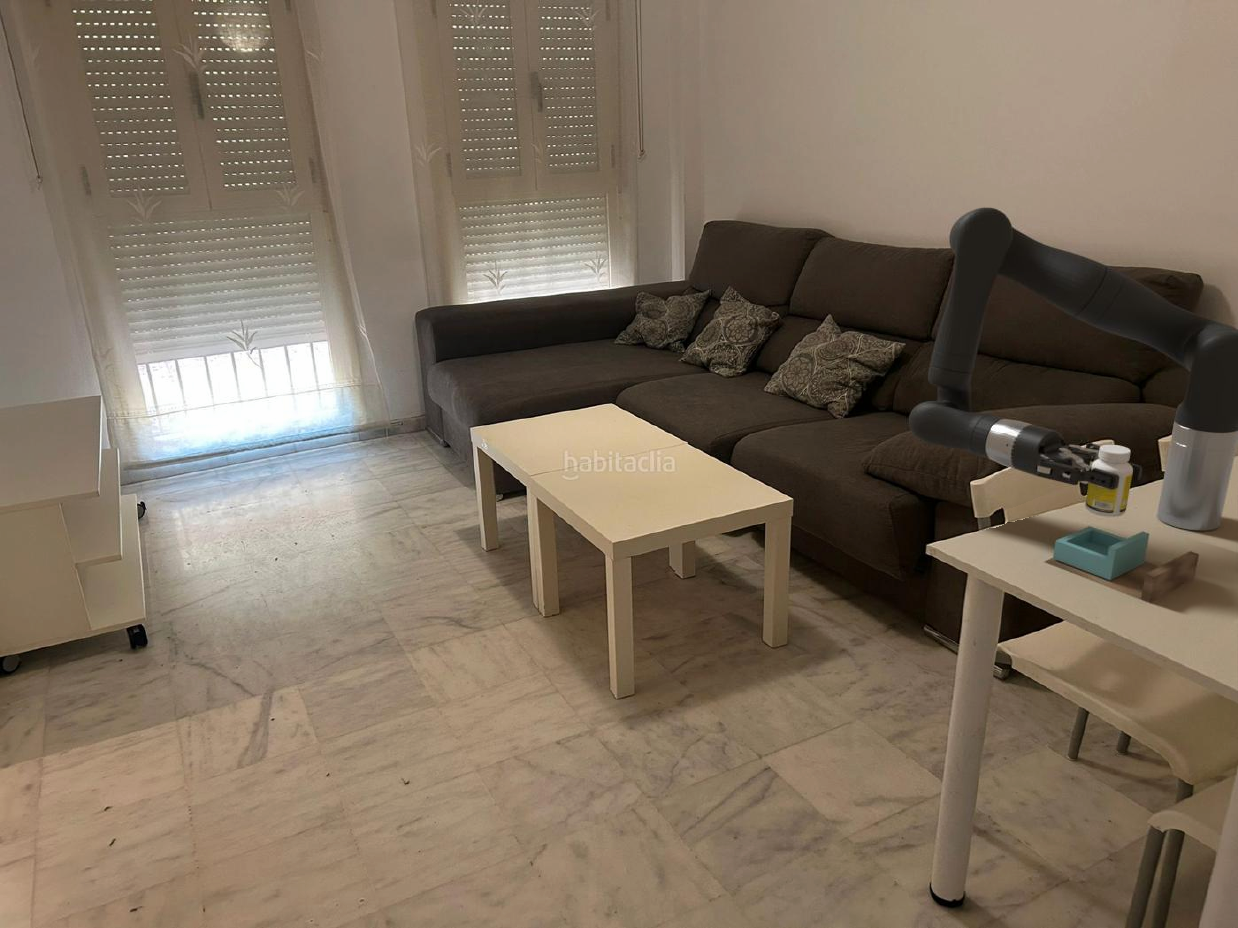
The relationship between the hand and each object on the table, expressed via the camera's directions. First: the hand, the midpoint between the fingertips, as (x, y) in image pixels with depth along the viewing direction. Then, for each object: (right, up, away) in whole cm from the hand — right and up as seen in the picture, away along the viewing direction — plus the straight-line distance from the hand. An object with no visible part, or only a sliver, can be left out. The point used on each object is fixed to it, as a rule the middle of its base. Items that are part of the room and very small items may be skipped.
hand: (1128, 478), depth 129 cm
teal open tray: (-1, -13, +7) cm, 15 cm away
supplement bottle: (-1, -5, +4) cm, 7 cm away
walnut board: (+1, -15, +5) cm, 16 cm away
